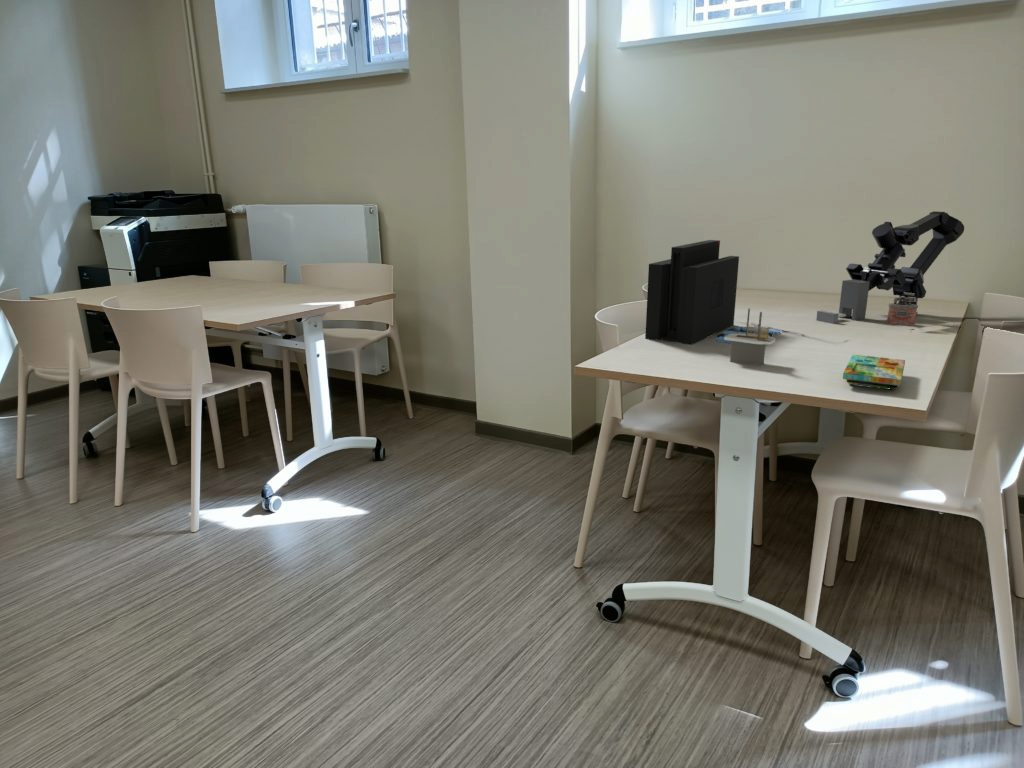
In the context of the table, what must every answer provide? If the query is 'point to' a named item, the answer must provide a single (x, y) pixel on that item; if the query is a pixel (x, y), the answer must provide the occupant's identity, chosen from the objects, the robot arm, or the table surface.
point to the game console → (693, 295)
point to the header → (828, 316)
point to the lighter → (902, 311)
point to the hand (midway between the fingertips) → (861, 294)
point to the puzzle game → (874, 371)
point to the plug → (854, 298)
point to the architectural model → (750, 345)
